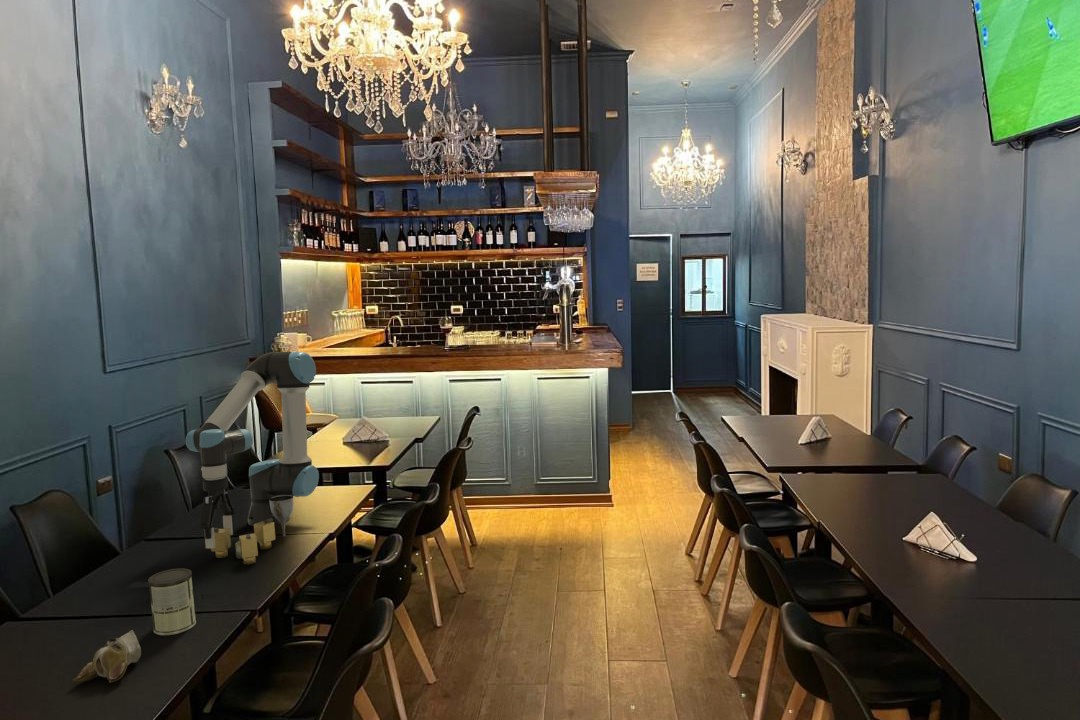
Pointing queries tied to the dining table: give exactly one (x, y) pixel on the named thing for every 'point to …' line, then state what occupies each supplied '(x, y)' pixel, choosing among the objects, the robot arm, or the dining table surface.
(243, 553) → the knob
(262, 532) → the knob
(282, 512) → the grey funnel
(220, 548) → the knob
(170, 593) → the coffee can
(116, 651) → the ceramic sculpture
